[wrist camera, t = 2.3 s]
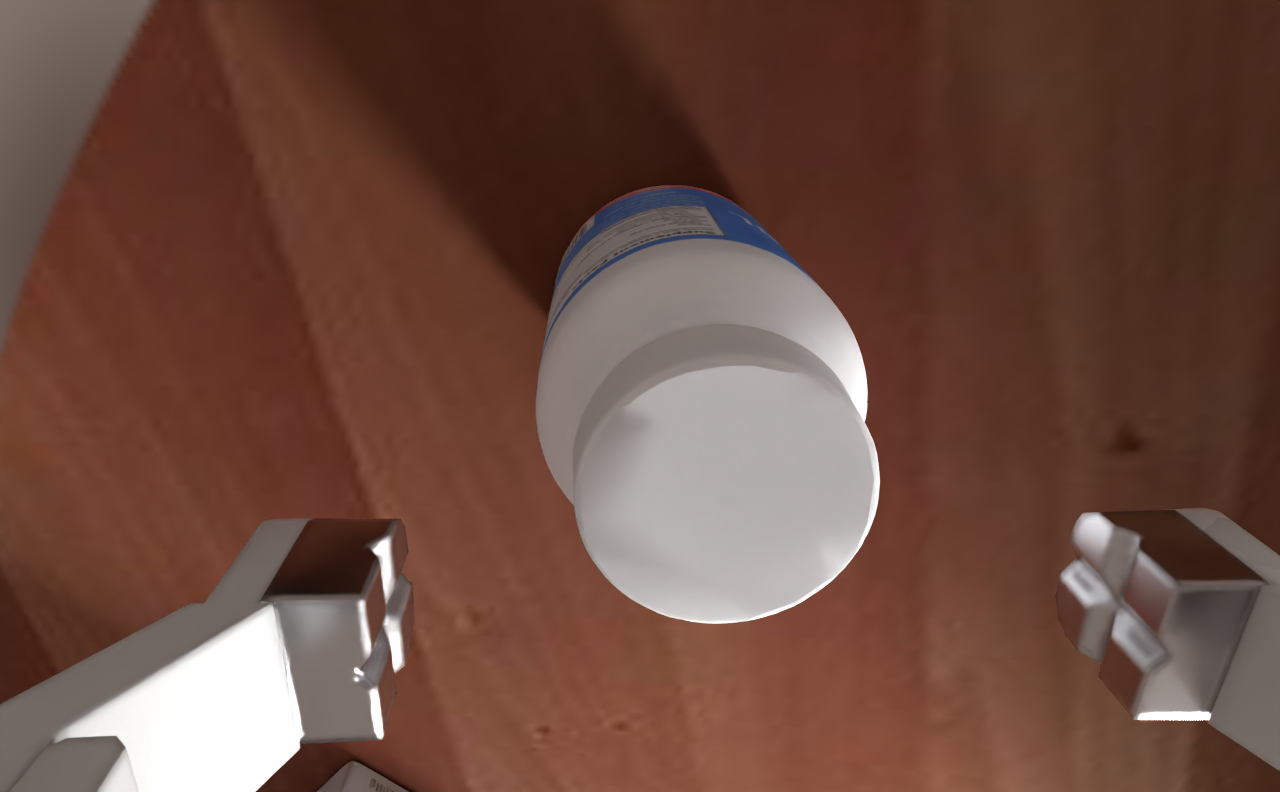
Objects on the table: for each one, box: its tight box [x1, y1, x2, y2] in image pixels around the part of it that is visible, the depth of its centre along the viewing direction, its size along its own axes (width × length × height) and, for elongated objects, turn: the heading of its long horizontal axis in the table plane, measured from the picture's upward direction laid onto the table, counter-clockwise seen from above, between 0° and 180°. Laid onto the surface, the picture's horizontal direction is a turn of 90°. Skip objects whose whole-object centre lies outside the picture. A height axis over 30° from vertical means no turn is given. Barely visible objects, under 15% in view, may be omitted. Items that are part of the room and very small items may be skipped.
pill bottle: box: [536, 185, 880, 623], centre depth 15 cm, size 6×5×10 cm
